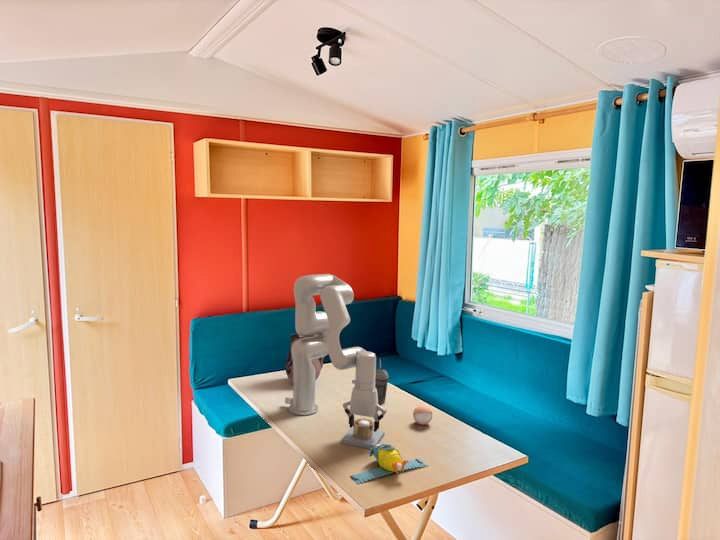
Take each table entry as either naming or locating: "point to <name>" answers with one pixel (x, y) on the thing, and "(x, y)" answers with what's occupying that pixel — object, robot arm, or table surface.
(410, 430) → the table surface
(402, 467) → the toy parrot figure
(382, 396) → the beverage cup
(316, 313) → the robot arm
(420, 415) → the toy ball
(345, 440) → the block
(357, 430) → the ring
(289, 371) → the ceramic pitcher
